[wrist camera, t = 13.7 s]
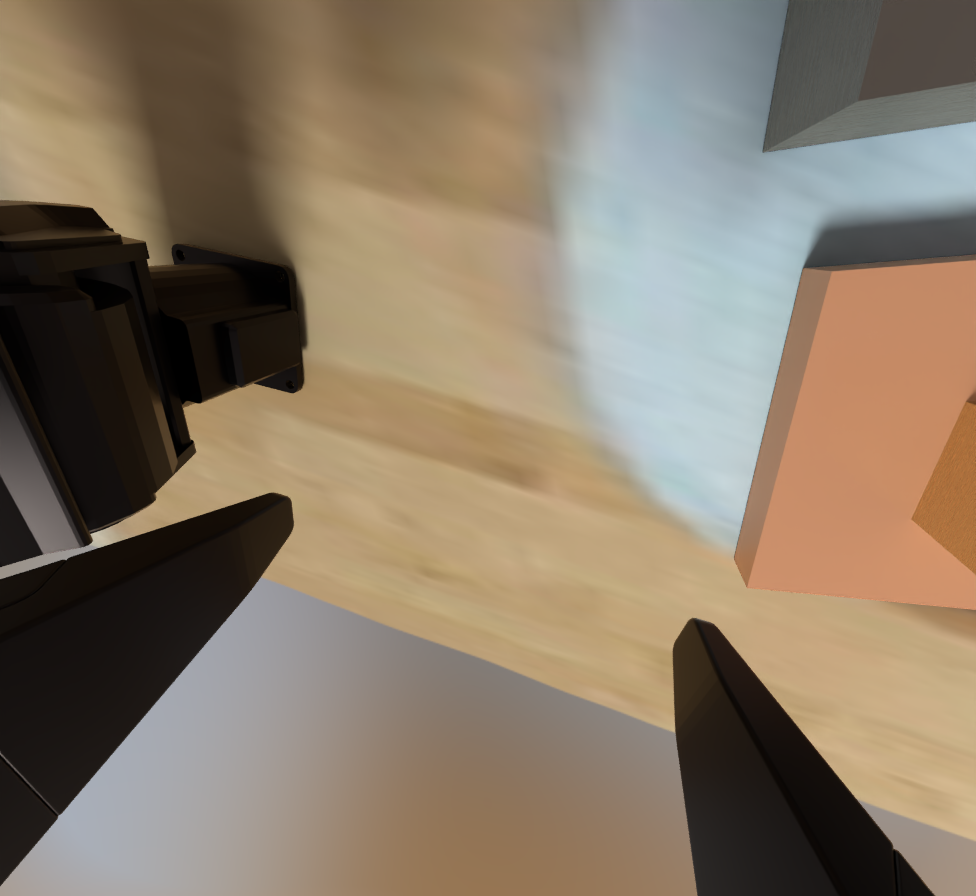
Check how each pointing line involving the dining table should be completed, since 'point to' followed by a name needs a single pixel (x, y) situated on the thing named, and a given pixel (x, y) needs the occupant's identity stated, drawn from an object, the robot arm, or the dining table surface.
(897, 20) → the body
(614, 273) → the dining table surface
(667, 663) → the dining table surface
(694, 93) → the dining table surface
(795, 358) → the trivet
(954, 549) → the tan wooden block
